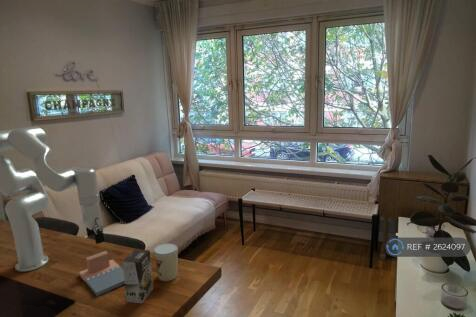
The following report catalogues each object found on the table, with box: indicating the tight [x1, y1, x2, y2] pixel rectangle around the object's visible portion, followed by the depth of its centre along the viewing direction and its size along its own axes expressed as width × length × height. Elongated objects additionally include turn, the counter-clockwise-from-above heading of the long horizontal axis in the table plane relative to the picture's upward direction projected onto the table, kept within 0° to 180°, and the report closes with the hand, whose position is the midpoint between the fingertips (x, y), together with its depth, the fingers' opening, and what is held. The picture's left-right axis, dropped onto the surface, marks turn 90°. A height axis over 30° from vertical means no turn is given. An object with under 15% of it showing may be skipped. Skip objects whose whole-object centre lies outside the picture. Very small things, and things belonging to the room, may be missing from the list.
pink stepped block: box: [78, 250, 120, 284], centre depth 137 cm, size 7×14×8 cm, turn 133°
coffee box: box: [122, 249, 154, 304], centre depth 120 cm, size 9×6×16 cm
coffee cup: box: [153, 242, 179, 282], centre depth 132 cm, size 9×9×12 cm
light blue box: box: [84, 265, 125, 297], centre depth 130 cm, size 12×14×2 cm
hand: (95, 238), depth 135 cm, fingers open, 9 cm apart
